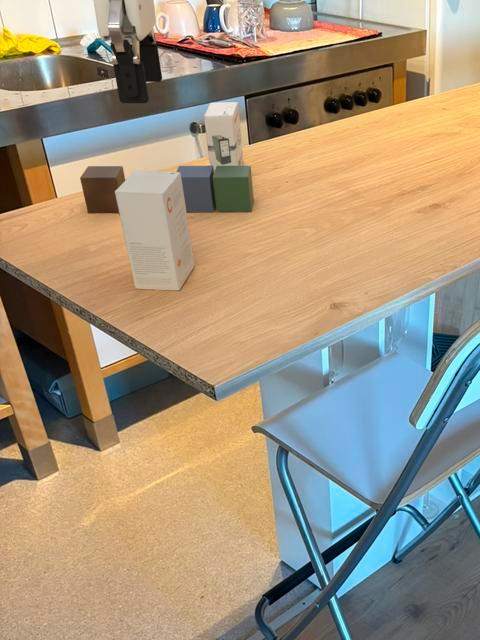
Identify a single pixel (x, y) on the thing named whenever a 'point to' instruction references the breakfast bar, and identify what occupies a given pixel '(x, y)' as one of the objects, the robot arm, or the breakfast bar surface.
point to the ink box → (223, 134)
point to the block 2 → (198, 188)
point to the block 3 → (233, 188)
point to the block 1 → (102, 188)
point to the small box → (156, 229)
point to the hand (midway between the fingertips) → (142, 91)
